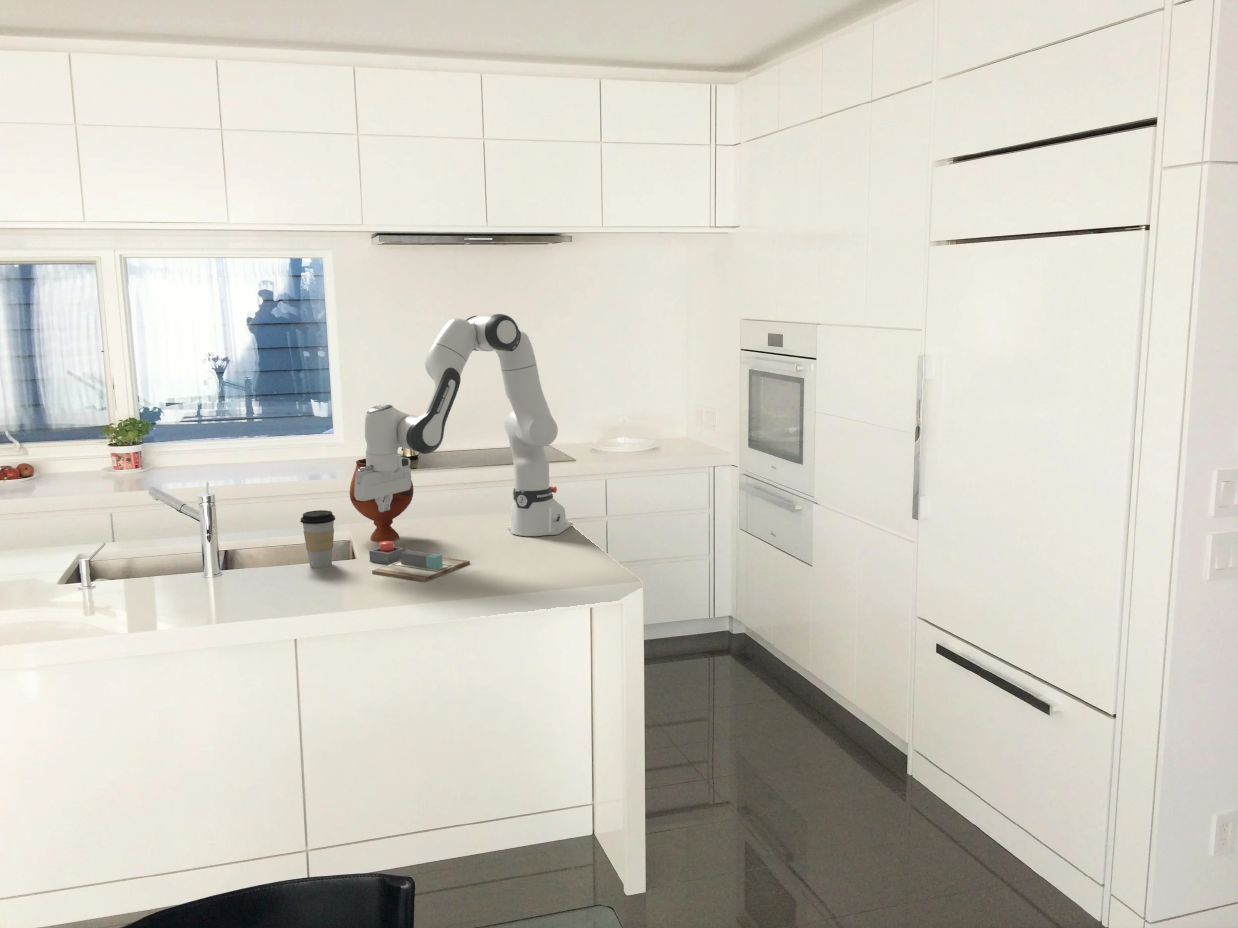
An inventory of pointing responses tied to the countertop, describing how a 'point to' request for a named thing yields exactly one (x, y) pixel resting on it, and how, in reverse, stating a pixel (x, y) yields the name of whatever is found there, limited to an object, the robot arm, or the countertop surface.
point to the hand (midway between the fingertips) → (384, 510)
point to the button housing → (386, 555)
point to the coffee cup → (319, 537)
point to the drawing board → (420, 570)
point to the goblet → (381, 518)
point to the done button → (386, 546)
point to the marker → (421, 559)
